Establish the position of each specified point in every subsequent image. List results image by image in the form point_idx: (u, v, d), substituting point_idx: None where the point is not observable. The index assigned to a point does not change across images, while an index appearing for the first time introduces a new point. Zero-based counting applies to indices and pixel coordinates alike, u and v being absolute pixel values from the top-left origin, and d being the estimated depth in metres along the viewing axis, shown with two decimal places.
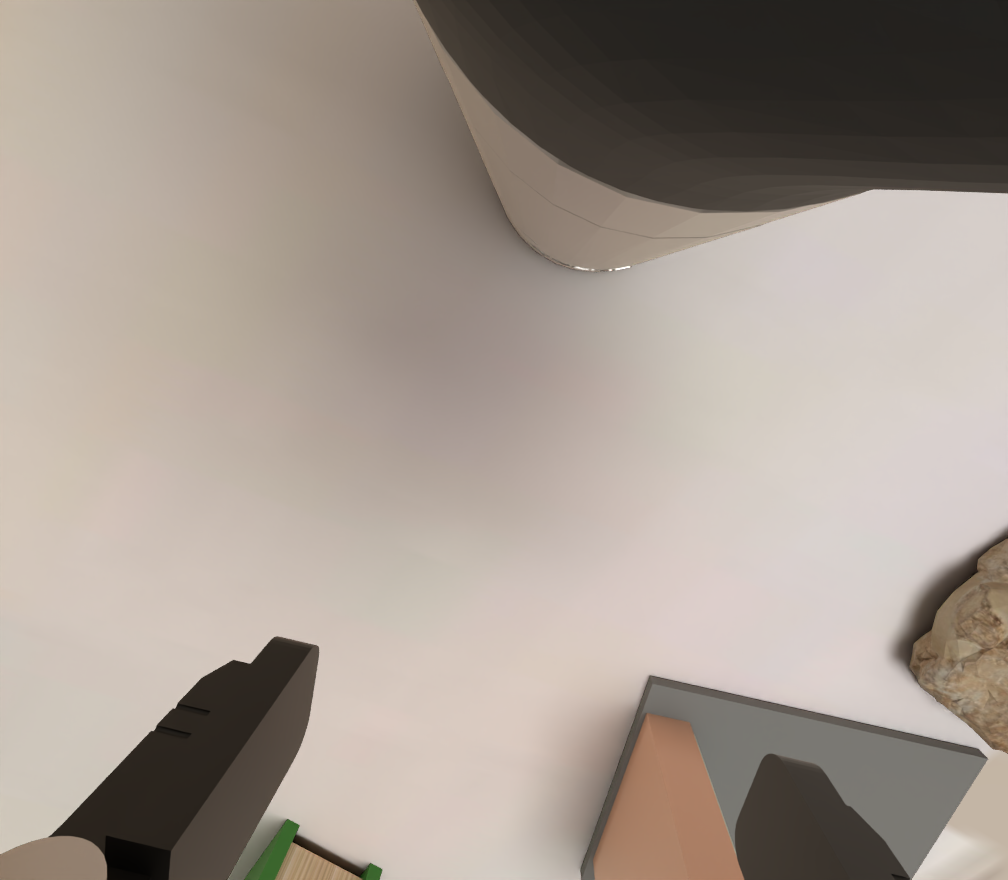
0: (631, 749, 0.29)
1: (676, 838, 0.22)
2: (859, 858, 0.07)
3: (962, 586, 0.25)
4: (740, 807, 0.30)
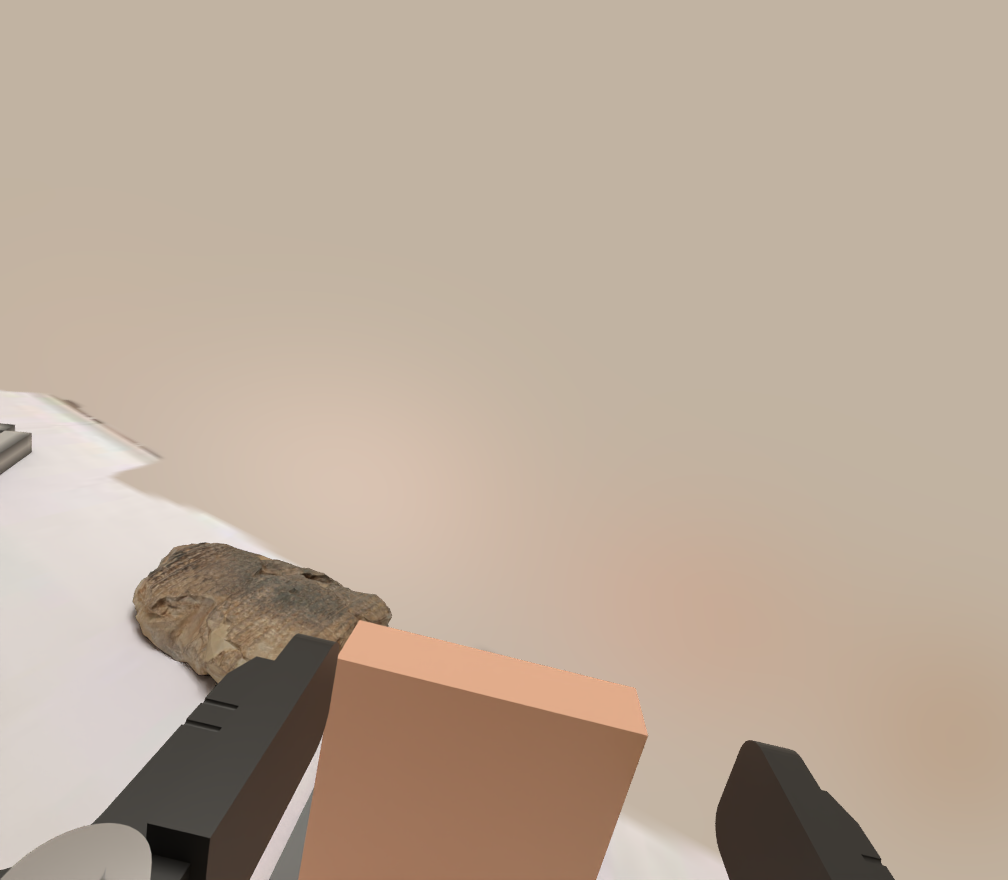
0: None
1: (311, 826, 0.21)
2: (830, 838, 0.07)
3: (214, 679, 0.35)
4: None
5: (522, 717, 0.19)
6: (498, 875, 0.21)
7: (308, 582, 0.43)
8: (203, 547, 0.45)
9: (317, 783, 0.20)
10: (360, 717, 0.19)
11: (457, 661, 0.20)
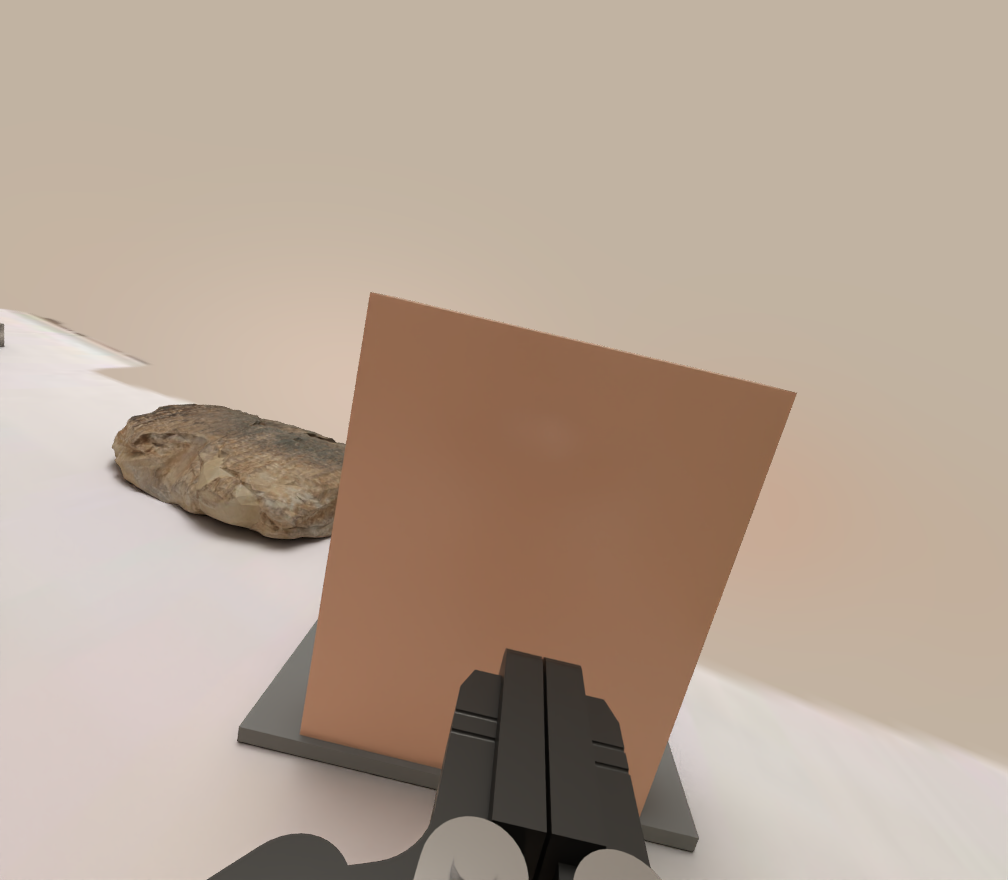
0: (376, 756, 0.17)
1: (333, 560, 0.16)
2: (568, 725, 0.08)
3: (208, 513, 0.30)
4: None
5: (624, 374, 0.14)
6: (581, 621, 0.16)
7: (314, 438, 0.38)
8: (194, 405, 0.39)
9: (341, 493, 0.15)
10: (401, 386, 0.14)
11: None
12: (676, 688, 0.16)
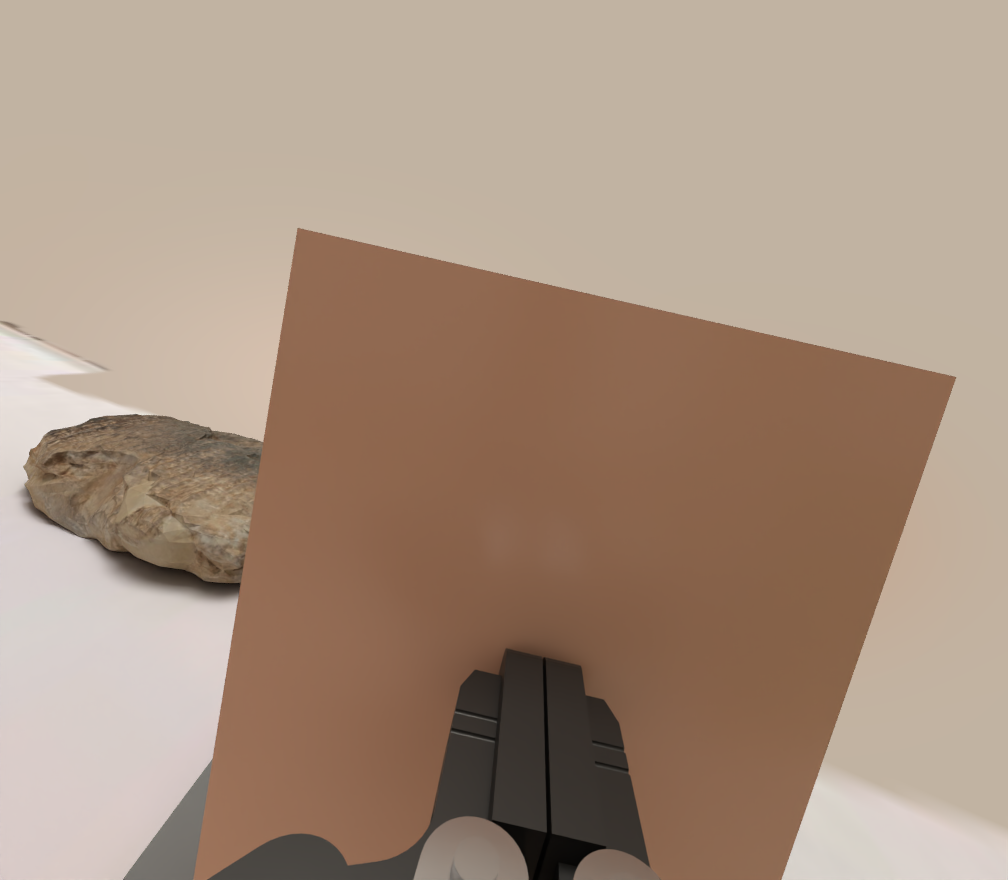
0: None
1: (239, 649, 0.10)
2: (568, 725, 0.08)
3: (131, 552, 0.24)
4: None
5: (689, 351, 0.09)
6: (627, 741, 0.10)
7: None
8: None
9: (252, 542, 0.10)
10: (346, 374, 0.09)
11: None
12: (776, 845, 0.10)
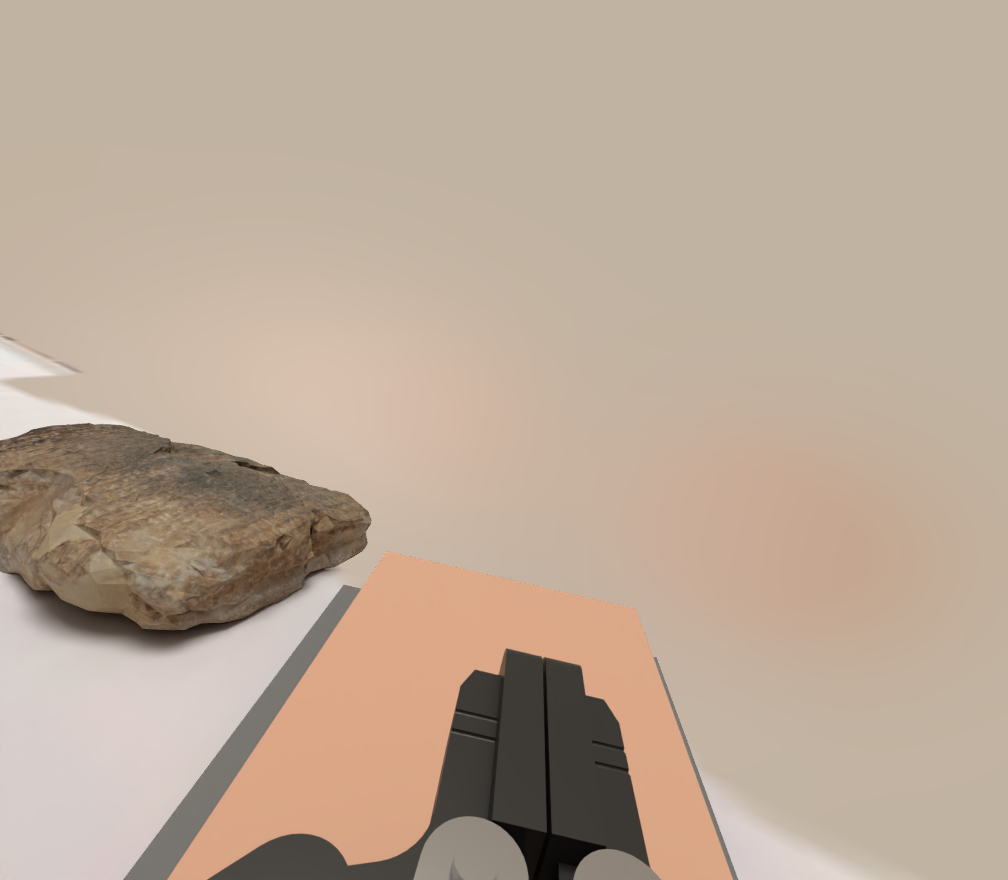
0: None
1: (315, 666, 0.16)
2: (568, 725, 0.08)
3: (56, 593, 0.20)
4: None
5: (538, 592, 0.23)
6: None
7: (241, 469, 0.28)
8: (84, 426, 0.30)
9: (341, 623, 0.18)
10: (400, 582, 0.21)
11: None
12: (693, 798, 0.14)
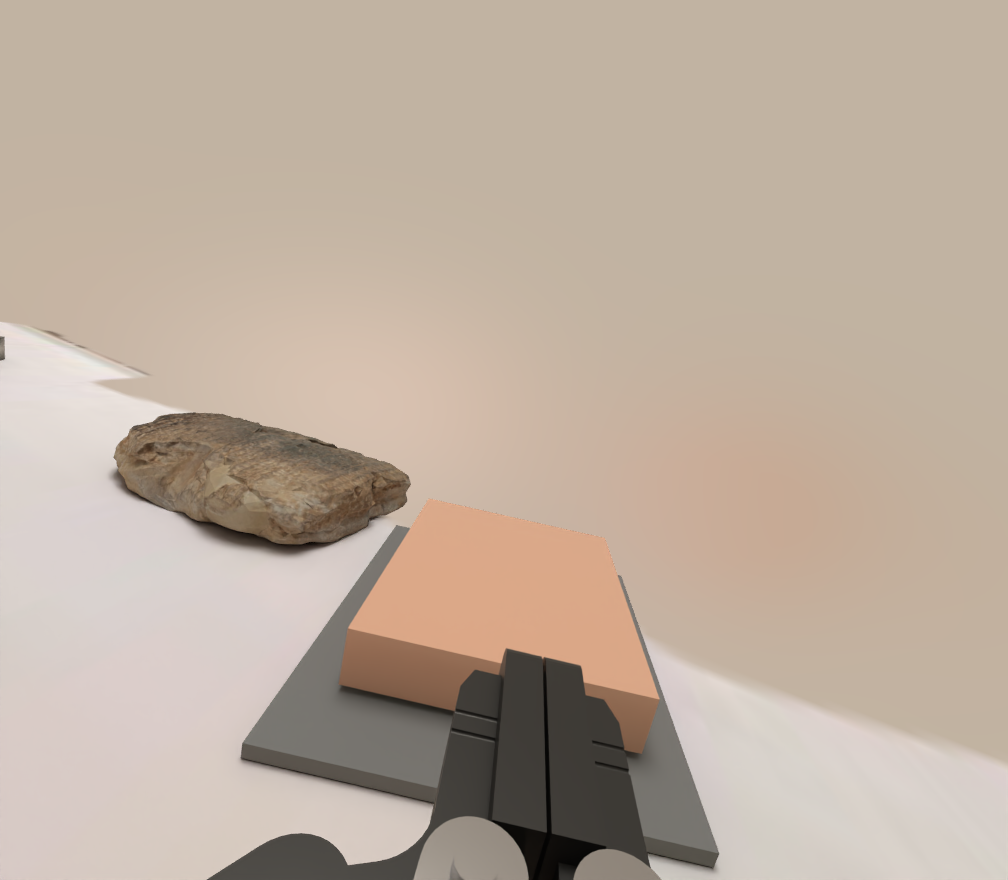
0: (384, 771, 0.17)
1: (399, 552, 0.26)
2: (568, 725, 0.08)
3: (215, 520, 0.30)
4: None
5: (536, 526, 0.33)
6: (553, 587, 0.25)
7: (316, 444, 0.38)
8: None
9: (409, 533, 0.28)
10: (442, 515, 0.31)
11: None
12: (626, 619, 0.24)
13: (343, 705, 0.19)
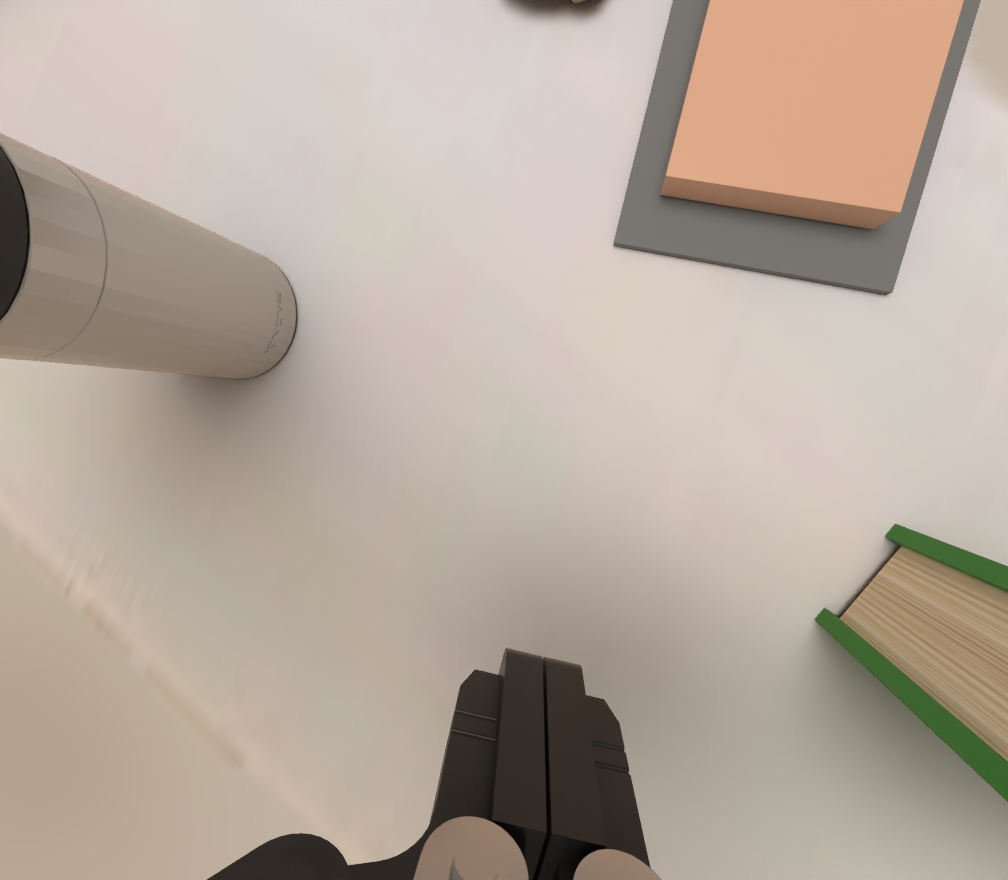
0: (692, 253, 0.30)
1: (701, 48, 0.27)
2: (568, 725, 0.08)
3: None
4: None
5: None
6: (859, 67, 0.26)
7: None
8: None
9: (711, 3, 0.27)
10: None
11: None
12: (924, 107, 0.25)
13: (664, 209, 0.31)
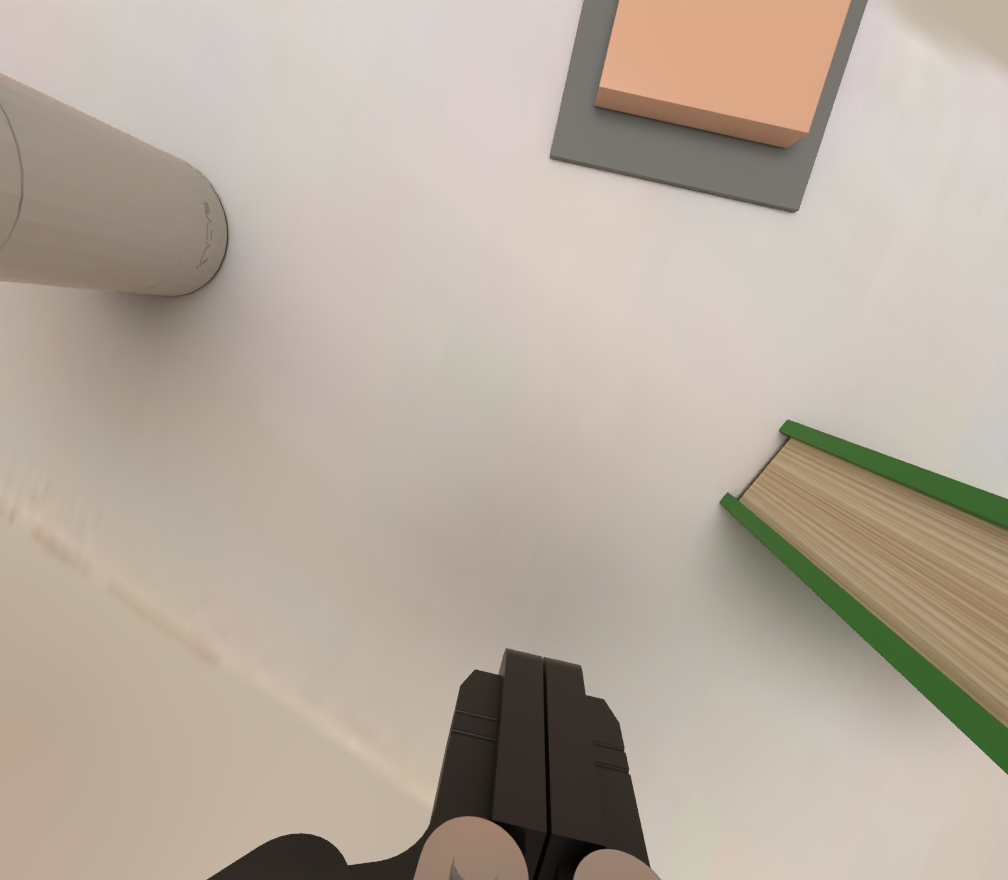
0: (624, 168, 0.32)
1: None
2: (568, 725, 0.08)
3: None
4: None
5: None
6: None
7: None
8: None
9: None
10: None
11: None
12: (836, 26, 0.27)
13: (598, 121, 0.31)
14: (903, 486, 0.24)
